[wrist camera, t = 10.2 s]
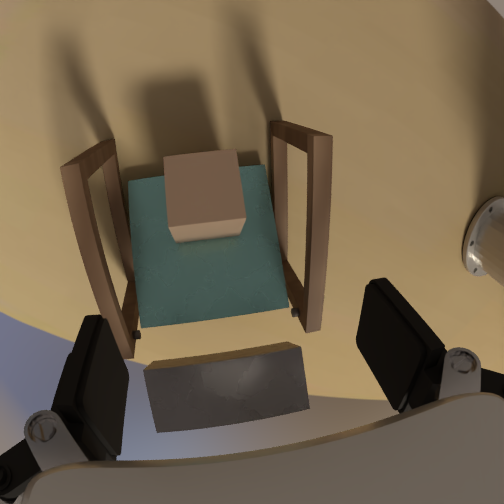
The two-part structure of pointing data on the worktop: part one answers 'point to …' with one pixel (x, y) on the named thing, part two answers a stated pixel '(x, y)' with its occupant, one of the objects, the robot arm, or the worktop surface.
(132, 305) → the frame
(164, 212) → the chair seat and backrest
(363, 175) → the worktop surface
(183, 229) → the pinkish beige cube
